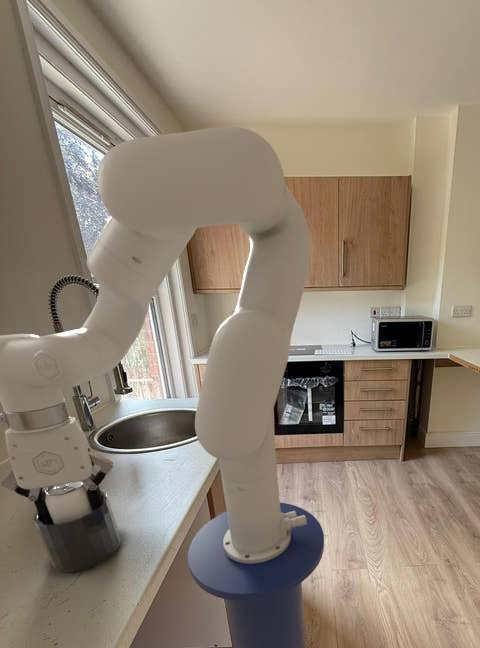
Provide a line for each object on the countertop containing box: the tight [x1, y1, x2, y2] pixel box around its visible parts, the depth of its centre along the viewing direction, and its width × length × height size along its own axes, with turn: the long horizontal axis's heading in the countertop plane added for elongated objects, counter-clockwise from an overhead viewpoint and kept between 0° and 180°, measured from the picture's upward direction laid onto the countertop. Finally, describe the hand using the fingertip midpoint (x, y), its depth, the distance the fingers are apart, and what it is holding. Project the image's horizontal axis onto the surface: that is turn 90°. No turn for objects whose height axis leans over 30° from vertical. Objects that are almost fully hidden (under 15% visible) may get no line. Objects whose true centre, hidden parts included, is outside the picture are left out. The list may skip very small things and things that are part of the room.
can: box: [44, 481, 93, 524], centre depth 62 cm, size 6×6×12 cm
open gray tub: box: [33, 490, 122, 574], centre depth 63 cm, size 11×11×10 cm
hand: (73, 510), depth 61 cm, fingers closed on can, 6 cm apart
